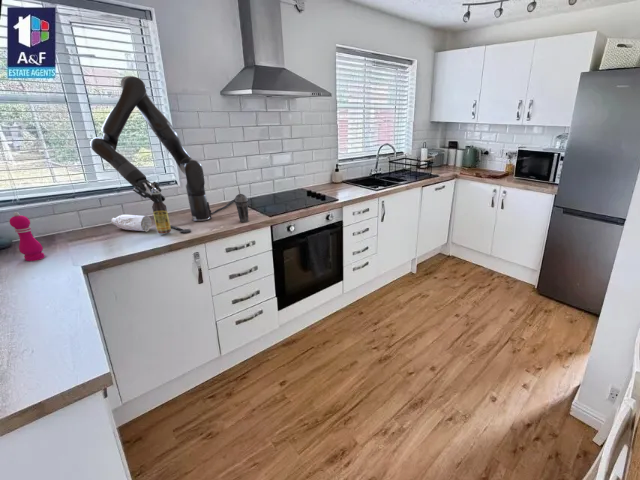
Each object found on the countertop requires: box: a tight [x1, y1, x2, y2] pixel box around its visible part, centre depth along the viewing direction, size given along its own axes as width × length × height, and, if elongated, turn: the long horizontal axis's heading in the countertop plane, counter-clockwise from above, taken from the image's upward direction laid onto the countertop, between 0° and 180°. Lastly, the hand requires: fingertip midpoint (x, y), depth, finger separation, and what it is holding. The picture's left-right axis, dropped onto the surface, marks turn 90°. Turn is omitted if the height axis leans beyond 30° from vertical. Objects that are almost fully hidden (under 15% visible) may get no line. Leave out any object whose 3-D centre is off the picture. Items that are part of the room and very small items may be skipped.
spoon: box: [170, 224, 192, 235], centre depth 195 cm, size 5×18×1 cm, turn 60°
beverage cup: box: [234, 186, 249, 223], centre depth 208 cm, size 7×7×20 cm
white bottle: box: [110, 214, 153, 232], centre depth 191 cm, size 8×19×8 cm, turn 82°
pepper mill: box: [9, 211, 46, 262], centre depth 151 cm, size 7×7×20 cm
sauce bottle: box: [151, 191, 172, 235], centre depth 183 cm, size 7×6×20 cm
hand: (160, 201), depth 180 cm, fingers closed on sauce bottle, 4 cm apart
